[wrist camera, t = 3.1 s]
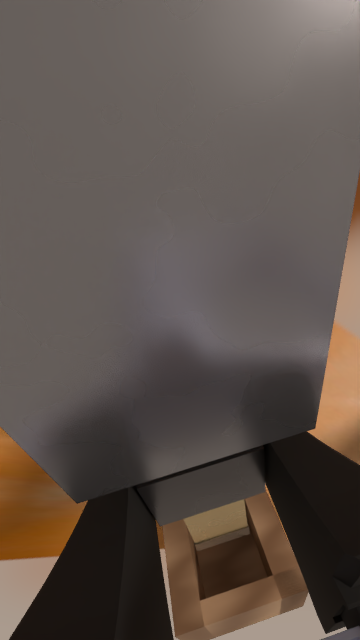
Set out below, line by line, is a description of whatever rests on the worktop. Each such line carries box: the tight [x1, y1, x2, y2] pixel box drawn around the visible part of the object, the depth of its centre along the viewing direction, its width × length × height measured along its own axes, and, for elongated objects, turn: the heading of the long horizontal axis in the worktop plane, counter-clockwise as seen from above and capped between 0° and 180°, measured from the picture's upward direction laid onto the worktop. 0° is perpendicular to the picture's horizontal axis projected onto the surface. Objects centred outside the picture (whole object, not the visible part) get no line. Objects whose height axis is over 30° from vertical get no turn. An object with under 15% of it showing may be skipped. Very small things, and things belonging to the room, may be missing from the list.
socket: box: [162, 490, 309, 640], centre depth 18 cm, size 8×5×6 cm, turn 101°
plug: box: [136, 445, 265, 551], centre depth 10 cm, size 4×19×5 cm, turn 11°
